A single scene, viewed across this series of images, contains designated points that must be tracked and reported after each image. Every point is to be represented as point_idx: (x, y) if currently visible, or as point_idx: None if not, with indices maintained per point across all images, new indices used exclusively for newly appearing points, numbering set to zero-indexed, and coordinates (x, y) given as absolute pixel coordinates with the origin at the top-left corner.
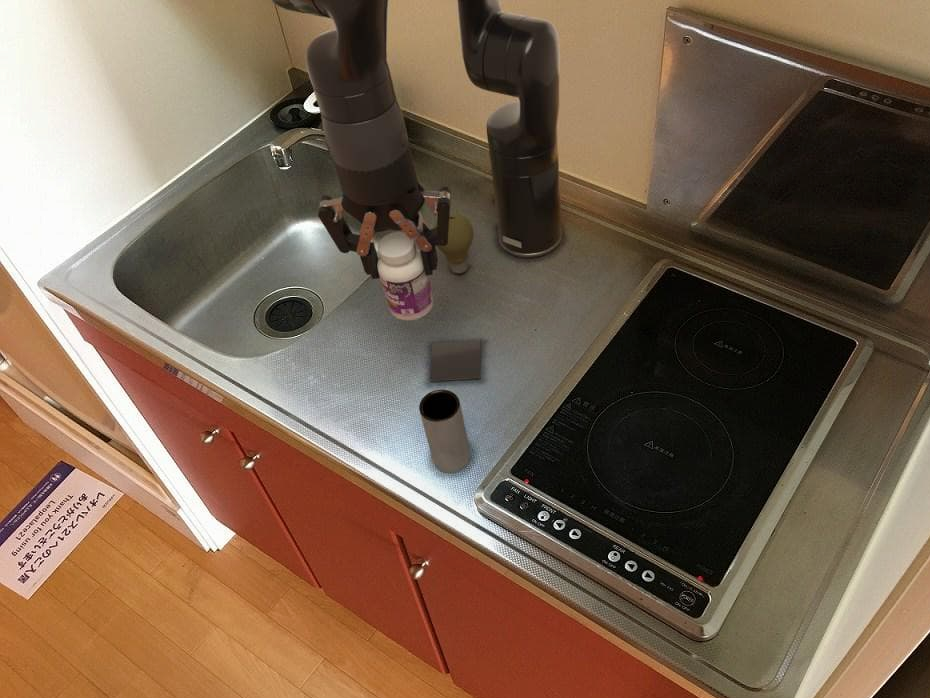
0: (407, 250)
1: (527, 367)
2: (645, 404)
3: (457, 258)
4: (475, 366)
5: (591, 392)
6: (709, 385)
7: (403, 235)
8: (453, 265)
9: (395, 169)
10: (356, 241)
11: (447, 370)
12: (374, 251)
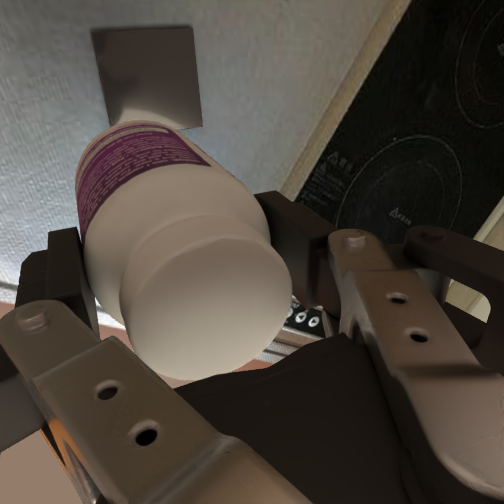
0: (270, 335)
1: (273, 95)
2: (403, 157)
3: None
4: (192, 100)
5: (351, 142)
6: (469, 122)
7: (245, 260)
8: None
9: None
10: (25, 424)
11: (142, 111)
12: (87, 299)
